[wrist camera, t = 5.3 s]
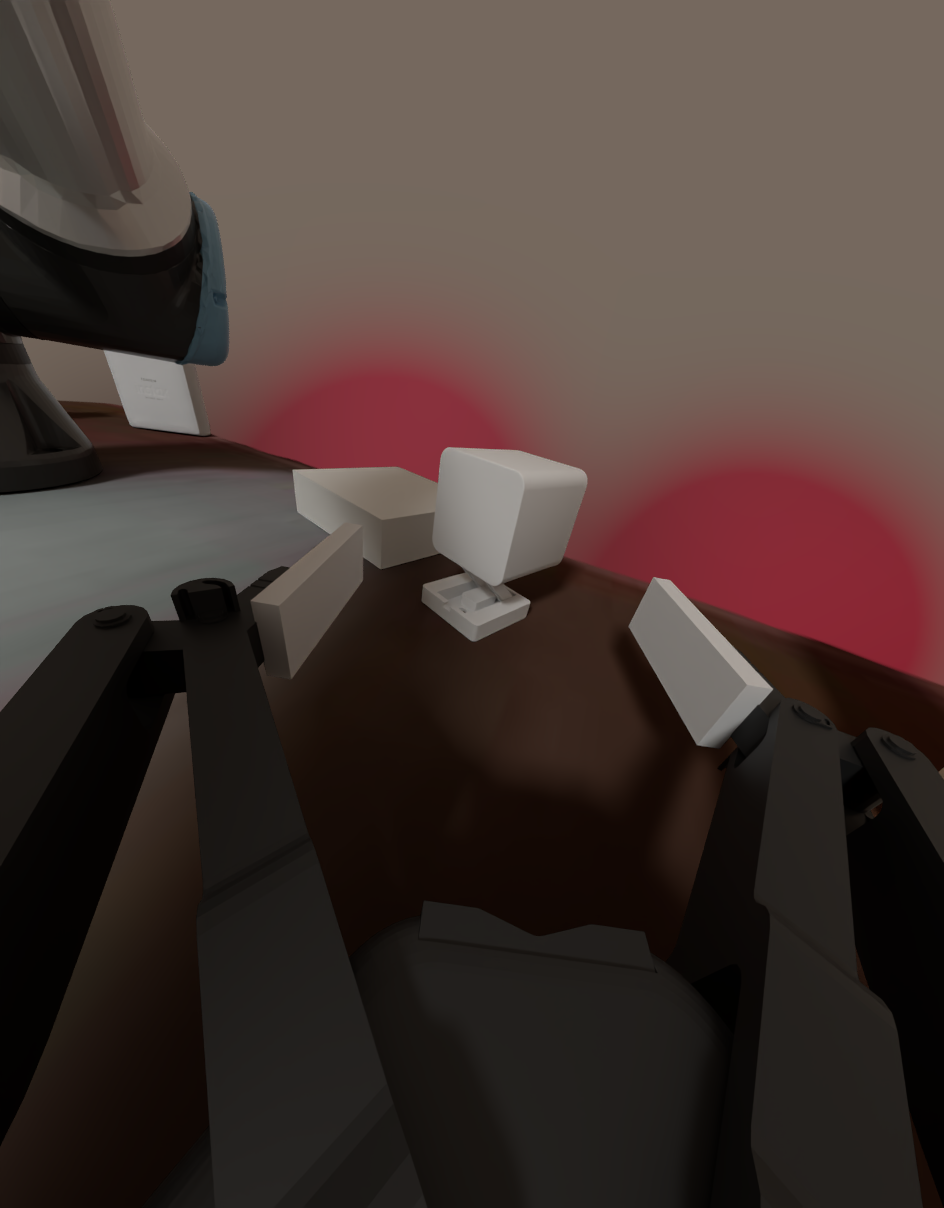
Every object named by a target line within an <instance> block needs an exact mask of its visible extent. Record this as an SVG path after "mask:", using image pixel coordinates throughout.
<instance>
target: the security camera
mask: <svg viewBox="0 0 944 1208" xmlns="http://www.w3.org/2000/svg"><path fill="white" fill-rule="evenodd" d="M586 487H587V476H586V474H585V472H584V471H583V470H581V469H578V468H575V467H572V466H568V465H565V464H562V463H558V462H555V461H552V460H549V459H545V458H542V457H539V456H535V455H532V454H528V453H525V452H522V451H517V450H496V449H473V448H472V449H471V448H449V447H448V448H446V449H445V450H444V451H443V453H442V455H441V460H440V469H439V479H438V488H437V498H436V507H435V517H434V526H433V535H432V541H433V545H434V547H435V549H436V550H437V551H438V552H439V553H441V554H442V555H444V556H446V557H447V558H449V559H450V560H452V561H453V562H455V563H457V564H458V565H460V566H461V567H462V568H463V570H464V571H465V573H462V574H458V575H455V576H451V577H448V578H444V579H440V580H437V581H433V582H430V583H426V584H424V585H423V591H422V602H423V603H424V604H425V605H427V606H428V607H429V608H430V609H432V610H433V611H434V612H435V613H437V614H438V615H439V616H440V617H442V618H443V619H444V620H445V621H447V622H448V623H449V624H450V625H452V626H453V627H454V628H455V629H457V630H458V631H459V632H460V633H462V634H463V635H464V636H465V637H467V638H468V639H469V640H471V641H478V640H480V639H482V638H484V637H486V636H488V635H490V634H492V633H494V632H496V631H498V630H501V629H503V628H505V627H507V626H509V625H511V624H513V623H515V622H517V621H519V620H521V619H524V618H525V617H526V615H527V612H528V609H529V605H530V601H529V600H528V599H526V598H525V597H523V596H521V595H520V594H518V593H516V592H515V591H513V590H512V589H510V588H508V587H507V586H505V585H504V583H506V582H508V581H511V580H514V579H517V578H520V577H523V576H526V575H529V574H531V573H534V572H537V571H540V570H543V569H546V568H549V567H552V566H556V565H558V564H559V563H560V562H561V561H562V559H563V556H564V553H565V550H566V547H567V544H568V541H569V538H570V535H571V532H572V529H573V526H574V523H575V520H576V517H577V514H578V511H579V508H580V505H581V502H582V498H583V496H584V492H585V489H586ZM463 611H464V612H466V613H464V612H463Z"/></svg>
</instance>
